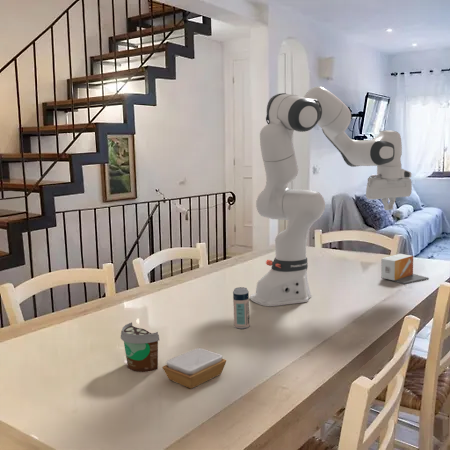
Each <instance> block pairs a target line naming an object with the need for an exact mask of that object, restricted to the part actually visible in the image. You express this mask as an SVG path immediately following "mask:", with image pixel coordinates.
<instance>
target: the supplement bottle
mask: <svg viewBox="0 0 450 450" xmlns="http://www.w3.org/2000/svg"><path fill="white" fill-rule="evenodd" d="M249 292H250V291H249V290H248V289H247V287H242V286H241V287H240V286H239V287H236V288H234V289H233V290H232V294H233V295H232V299H233V301H232V302H233V323H234V324H233V326H234V328H236V329H239V330H244V329H248V328H249V327H250V301H249V300H250V295H249Z"/></svg>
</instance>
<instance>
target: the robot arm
mask: <svg viewBox="0 0 450 450" xmlns="http://www.w3.org/2000/svg"><path fill="white" fill-rule="evenodd" d="M266 105H267V106H266V117H265V122H266V123H267V124H266V125H265V126H263V127H262V128H261V129H260V132H259V141H260V142H259V143H260V144H259V145H260V152H261V157H262V161H263V167H264V171H265V177H266V181H265V183H266V184H265V186H264V189H263V190H262V191H261V192H260V193H259V194H258V196H257V198H256V202H255V207H256V209H257V210H256V211H257V212H258V214H259V215H260V216H261V217H263V218H267V219H270V220H281V221H283V220H284V221H288V223H287V227H286V229H283V230H281V231H280V232H279V233H278V234H276V237H275V239H274V250H275V251H274V253H275V254H274V255H275V257H274V259H273V260H270V259H267V260H265V264H266V266H270V267H271V269H269V271H268V272H267V273H266V274H264V275H263V277H261V278H260V279H259V280H258V281H257V283H256V288H255V292H254V293H252V294H250V295H249V300H251V301H252V302H253V303H255V304H257V305H259V306H264V307H276V306H284V305H291V304H299V303H307V302H309V301H310V300H309V299H310V298H311V297H312V293H311V289H310V286H309V280H308V266H309V265H308V257H307V239H308V234H309V231H310V229H311V227H312V226H313V225H314V223H316V221H317V220H319V219H320V218H321V217H322V216H323V214H324V213H325V210H326V202H325V199H324V196H323V195H322V194H321V193H320V192H318V191H314V190H310V189H291V188H290V187H289V186H288V184H289V183H291V182H293V181H294V180H295V179H296V178H297V176H298V173H299V166H298V161H297V156H296V153H295V148H294V147H295V146H294V144H293V135H294V131H296V132H298V133H300V132H301V133H304V132H305V133H306V132H309V131H310V130H312V129H314V127H316V126H317V125H318V126H319V127H320V128H321V130H322V133H323V134H324V135H325V137H326V139H327V140H328V141H329V142H330V143H331V144H332V145H333V146H334V148H336V150H337V151H338V152H339V153H340V155H341V157H342V159H343V161H344V163H345V164H346V165H347V166H350V167H352V168H354V167H371V166H372V167H373V166H374V167H376V174H371V175H370V176H368V178H367V184H366V190H365V197H366V199H368V200H381V203H382V204H383V206H384V207H383V210H384V211H390V210H394V204H395V203H396V200H397V198H406V197H408V198H409V197H410V196H411V195H412V187H413V186H412V179H411V178H412V172H411V171H408V170H406V169H404V168H402V160H401V157H402V153H403V152H402V151H403V146H402V145H403V144H402V138H401V133H399V132H398V131H395V130H389V129H387V130H381V131H379V133H378V135H377V136H375V137H373V138H371V139H365V140H361V139H360V140H358V139H356V140H355V139H352V138H350V137H349V135H348V134H347V133H346V132H345V131H346V130H347V129H348V127H349V126H350V123H351V121H352V112H351V110H350V108H349V107H348V106H347V104H345V103H344V102H343V101H342V100H341V99H340V98H339V97H337V96H336V95H335V94H334V93H332V92H331V91H329V90H328V89H326V88H324V87H322V86H313V87H311V88H310V89H309V90H307V92H306V93H305V94H304V96H299V95H296V94H293V93H292V94H291V93H286V92H285V93H277V94H275V95H273V96H271V97H270V98H269V100H268V102H267V104H266ZM388 202H389V203H388Z"/></svg>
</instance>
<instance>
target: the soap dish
mask: <svg viewBox="0 0 450 450" xmlns="http://www.w3.org/2000/svg"><path fill="white" fill-rule="evenodd" d="M165 363H166V365H163V366H162V367H161V368H162V370H163V371H164V373H165V375H166V377H167V378H168V380H169V381H172V382H174V383H177V384H178V385H181V386H184V387H186V388H189V389H191V390H192V389H193V388H195V387H198V386H199V385H202V384H204V383H205V382H207V381H210V380H211V379H214V378H215V377H218V376H220V375H221V374H222V372H224V371H223V370H224V368H225V366H226V363H227V359H226V358H224V357H223V355H222V354H220V353H216V352H214V351H210V350H207V349H205V348H202V347H198V348H194V349H192V350H190V351H187V352H184V353H182V354H180V355H176V356H174V357H172V358H169V359H167V361H166V362H165Z"/></svg>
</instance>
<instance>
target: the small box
mask: <svg viewBox="0 0 450 450" xmlns="http://www.w3.org/2000/svg"><path fill="white" fill-rule="evenodd" d="M380 270H381V271H380V273H381V274H380V275H381V276H380V278H382V279H384V278H385V280H388V279H390V280H389V281H391V280H398V279H401V278H404V277H407V276H410V275H413V274H414V255H410V254H404V253H397V254H394V255H390V256H386V257H382V258H381V266H380Z"/></svg>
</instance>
